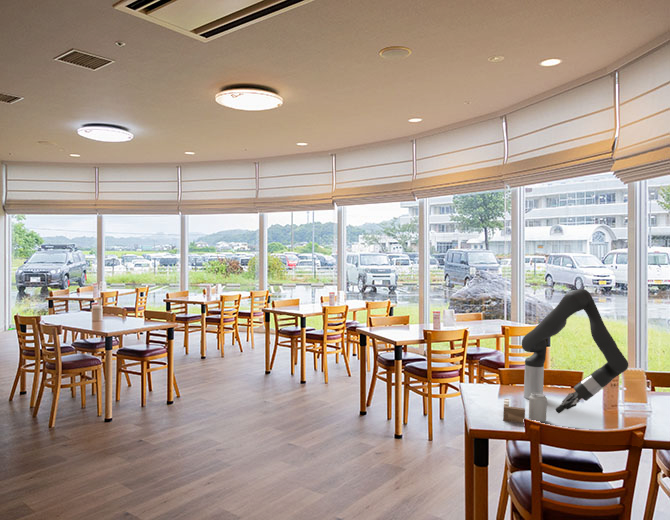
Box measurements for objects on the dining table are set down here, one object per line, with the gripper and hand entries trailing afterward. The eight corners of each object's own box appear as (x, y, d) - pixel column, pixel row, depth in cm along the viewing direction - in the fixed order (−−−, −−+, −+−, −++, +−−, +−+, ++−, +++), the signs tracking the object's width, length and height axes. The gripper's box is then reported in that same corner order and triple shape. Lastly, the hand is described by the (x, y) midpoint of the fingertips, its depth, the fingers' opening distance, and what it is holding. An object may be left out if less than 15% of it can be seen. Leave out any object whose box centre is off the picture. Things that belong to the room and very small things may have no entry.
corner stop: (504, 411, 240) (504, 397, 240) (524, 413, 237) (524, 399, 237) (503, 420, 227) (503, 406, 227) (524, 423, 224) (525, 408, 224)
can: (525, 417, 232) (526, 391, 232) (541, 417, 233) (542, 391, 232) (533, 423, 225) (534, 396, 224) (549, 423, 225) (550, 396, 225)
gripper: (579, 377, 228) (549, 400, 233) (583, 384, 216) (551, 409, 220) (592, 390, 227) (561, 413, 231) (596, 398, 214) (564, 422, 219)
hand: (556, 411), depth 226 cm, fingers closed
